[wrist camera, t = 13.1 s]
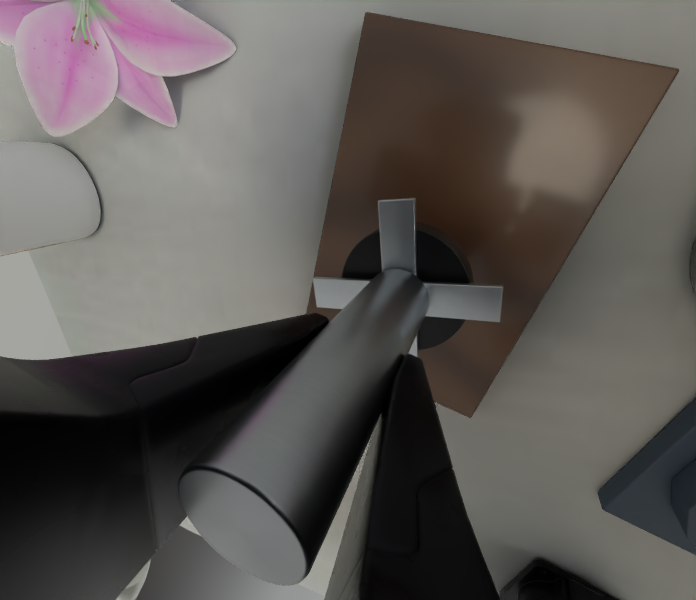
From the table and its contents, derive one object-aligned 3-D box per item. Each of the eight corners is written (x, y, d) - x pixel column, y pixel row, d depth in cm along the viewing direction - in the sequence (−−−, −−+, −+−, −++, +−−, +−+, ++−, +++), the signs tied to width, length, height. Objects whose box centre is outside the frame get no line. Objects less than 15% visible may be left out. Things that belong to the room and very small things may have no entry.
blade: (494, 368, 13) (485, 776, 4) (339, 347, 15) (149, 580, 7) (509, 188, 10) (552, 350, 2) (321, 200, 13) (-3, 290, 5)
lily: (124, 139, 25) (40, 195, 18) (-38, -89, 17) (-293, -146, 10) (269, 86, 23) (238, 126, 16) (158, -200, 15) (6, -364, 8)
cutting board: (472, 406, 21) (470, 418, 20) (309, 331, 24) (300, 339, 23) (666, 75, 12) (681, 68, 11) (373, 20, 15) (364, 11, 14)
